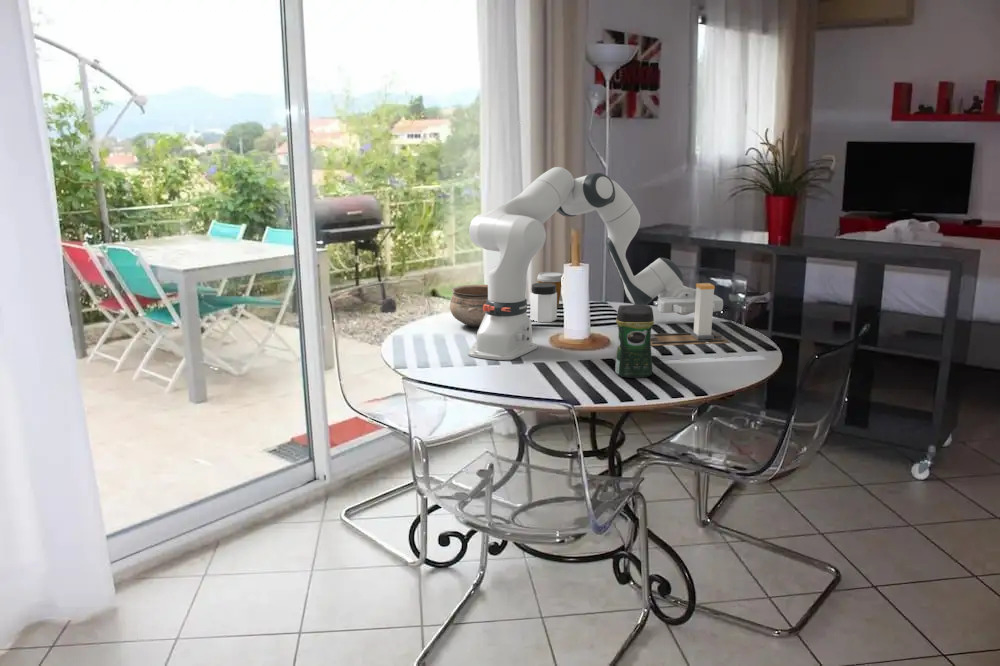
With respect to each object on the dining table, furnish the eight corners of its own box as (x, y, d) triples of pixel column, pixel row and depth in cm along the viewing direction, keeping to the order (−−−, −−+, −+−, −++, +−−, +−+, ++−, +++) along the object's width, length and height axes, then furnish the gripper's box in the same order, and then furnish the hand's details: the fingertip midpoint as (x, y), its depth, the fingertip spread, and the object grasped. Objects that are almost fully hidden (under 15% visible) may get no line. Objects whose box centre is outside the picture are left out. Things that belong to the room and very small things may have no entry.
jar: (537, 315, 278) (538, 281, 275) (559, 318, 274) (560, 283, 271) (526, 321, 270) (526, 286, 267) (548, 323, 266) (549, 288, 263)
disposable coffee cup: (550, 302, 298) (550, 270, 295) (568, 307, 291) (569, 274, 288) (531, 306, 292) (531, 273, 289) (549, 310, 285) (549, 277, 282)
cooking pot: (505, 336, 250) (505, 297, 247) (445, 335, 252) (444, 297, 249) (509, 317, 275) (509, 282, 272) (454, 317, 276) (454, 282, 273)
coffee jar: (649, 370, 215) (652, 302, 211) (653, 379, 208) (657, 308, 203) (613, 369, 216) (615, 302, 211) (616, 378, 208) (618, 308, 203)
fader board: (645, 349, 235) (646, 342, 234) (633, 338, 247) (633, 331, 247) (730, 346, 238) (731, 339, 237) (714, 335, 250) (714, 328, 250)
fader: (697, 339, 240) (701, 286, 236) (690, 334, 246) (693, 282, 242) (713, 338, 240) (717, 286, 237) (706, 333, 246) (709, 282, 242)
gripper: (652, 292, 257) (665, 301, 244) (713, 290, 259) (730, 298, 246) (651, 311, 259) (664, 321, 245) (712, 309, 261) (729, 318, 248)
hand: (698, 310), depth 246 cm, fingers open, 8 cm apart
